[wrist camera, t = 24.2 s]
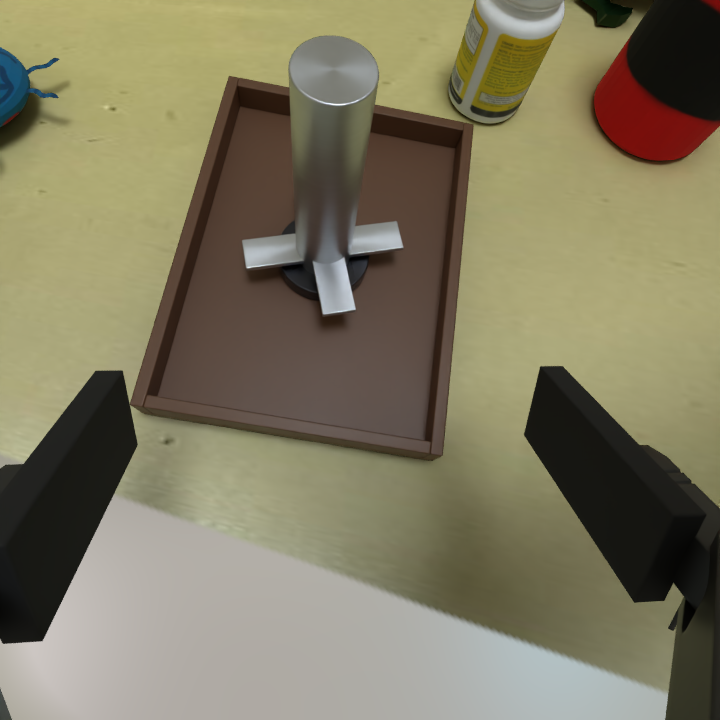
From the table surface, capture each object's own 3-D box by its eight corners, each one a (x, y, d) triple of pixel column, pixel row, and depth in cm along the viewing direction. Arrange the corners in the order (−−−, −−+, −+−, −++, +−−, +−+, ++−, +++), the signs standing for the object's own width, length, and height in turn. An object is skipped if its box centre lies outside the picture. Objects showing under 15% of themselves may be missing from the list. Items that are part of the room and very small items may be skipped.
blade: (379, 189, 28) (427, -30, 17) (411, 317, 26) (491, 164, 15) (238, 205, 27) (187, -20, 16) (258, 341, 25) (217, 193, 13)
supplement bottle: (532, 98, 32) (606, -39, 24) (489, 138, 31) (553, 7, 23) (476, 55, 33) (530, -93, 25) (431, 93, 31) (473, -51, 24)
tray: (463, 148, 30) (473, 123, 29) (432, 461, 24) (442, 456, 23) (233, 103, 30) (228, 75, 28) (143, 414, 24) (129, 404, 22)
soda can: (573, 79, 33) (712, -150, 22) (669, 66, 34) (848, -157, 23) (618, 173, 31) (798, -26, 20) (719, 155, 32) (942, -41, 21)
